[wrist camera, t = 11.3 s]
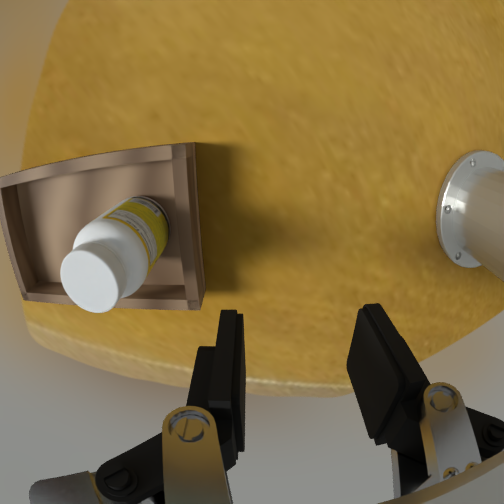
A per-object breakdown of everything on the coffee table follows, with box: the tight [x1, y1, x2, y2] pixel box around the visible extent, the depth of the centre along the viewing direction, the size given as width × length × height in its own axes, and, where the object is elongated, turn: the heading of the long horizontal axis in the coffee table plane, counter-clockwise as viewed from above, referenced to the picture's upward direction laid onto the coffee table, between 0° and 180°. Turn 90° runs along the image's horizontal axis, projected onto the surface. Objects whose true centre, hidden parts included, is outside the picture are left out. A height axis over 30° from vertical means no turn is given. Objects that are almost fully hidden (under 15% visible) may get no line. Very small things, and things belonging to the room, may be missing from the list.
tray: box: [0, 142, 206, 310], centre depth 23 cm, size 20×13×4 cm, turn 91°
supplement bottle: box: [60, 196, 171, 313], centre depth 19 cm, size 5×5×10 cm
